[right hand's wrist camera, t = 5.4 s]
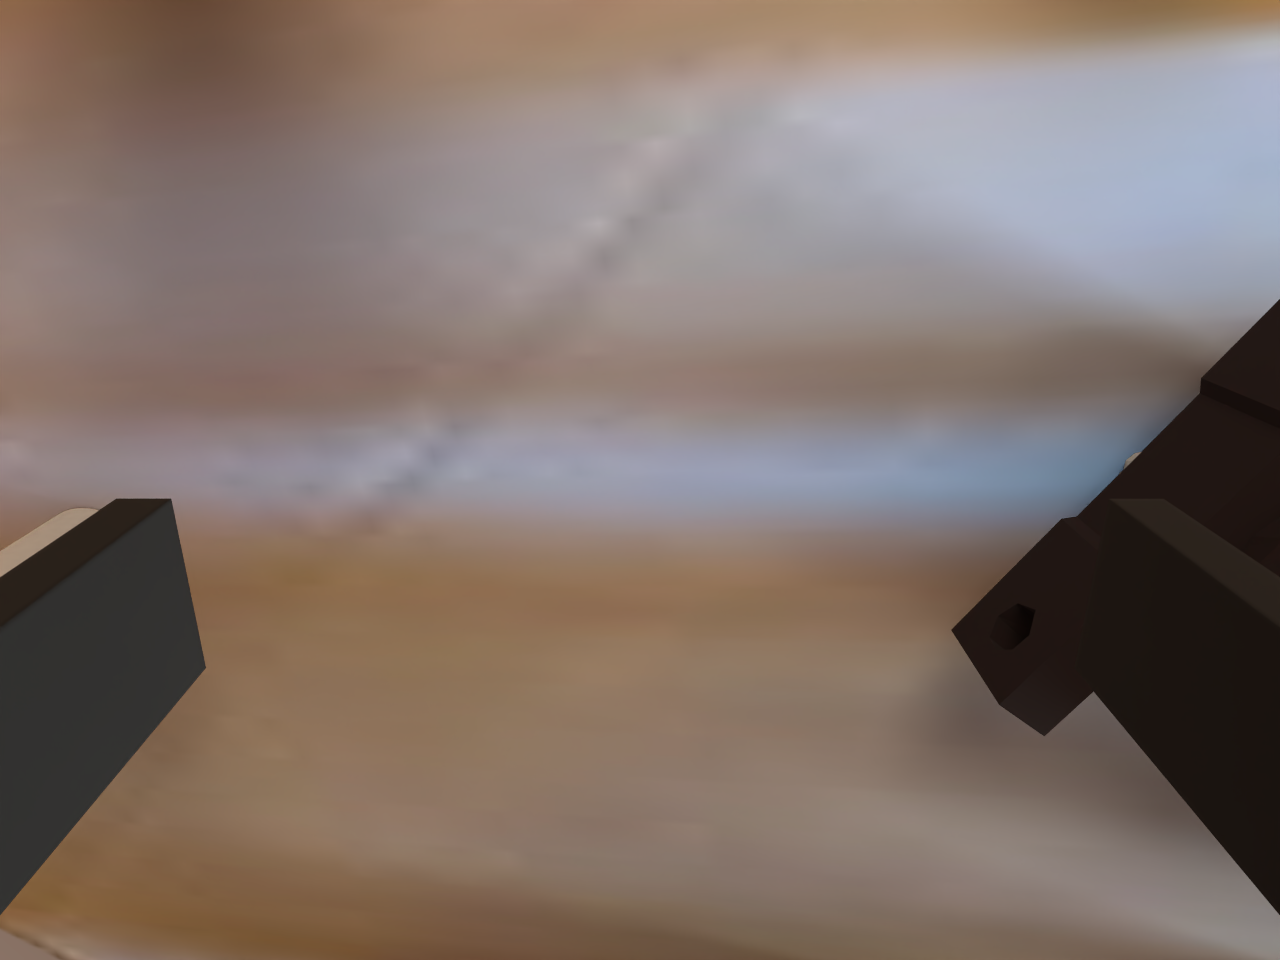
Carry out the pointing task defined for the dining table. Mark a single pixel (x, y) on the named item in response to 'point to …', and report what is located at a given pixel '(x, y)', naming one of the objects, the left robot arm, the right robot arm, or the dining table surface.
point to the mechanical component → (1166, 469)
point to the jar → (41, 537)
